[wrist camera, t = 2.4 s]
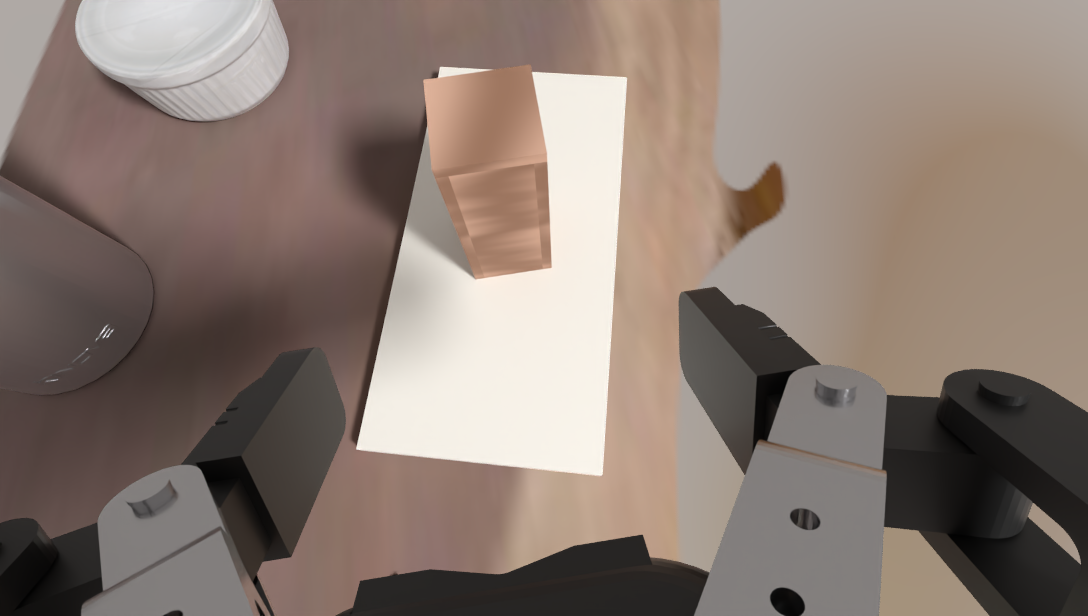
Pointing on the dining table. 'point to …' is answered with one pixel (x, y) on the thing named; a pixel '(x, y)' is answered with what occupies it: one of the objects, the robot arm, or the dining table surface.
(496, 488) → the dining table surface
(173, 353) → the dining table surface
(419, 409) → the hook board
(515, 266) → the tan recessed-panel box
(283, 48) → the ramekin
